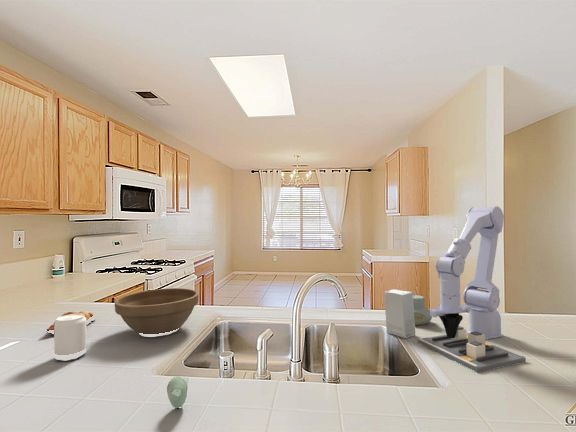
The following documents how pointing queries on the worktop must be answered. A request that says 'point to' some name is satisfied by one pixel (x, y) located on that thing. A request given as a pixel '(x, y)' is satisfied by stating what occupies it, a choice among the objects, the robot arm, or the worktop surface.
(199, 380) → the worktop surface
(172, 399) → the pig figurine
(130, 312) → the brown round bowl
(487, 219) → the robot arm
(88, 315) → the croissant
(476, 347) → the switch
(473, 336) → the switch middle
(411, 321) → the skincare box
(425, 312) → the air freshener
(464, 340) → the console
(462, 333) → the switch
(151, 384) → the worktop surface
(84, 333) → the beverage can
